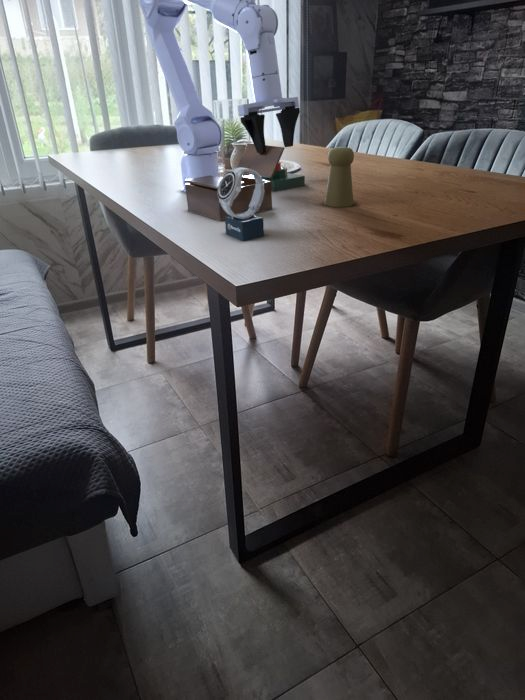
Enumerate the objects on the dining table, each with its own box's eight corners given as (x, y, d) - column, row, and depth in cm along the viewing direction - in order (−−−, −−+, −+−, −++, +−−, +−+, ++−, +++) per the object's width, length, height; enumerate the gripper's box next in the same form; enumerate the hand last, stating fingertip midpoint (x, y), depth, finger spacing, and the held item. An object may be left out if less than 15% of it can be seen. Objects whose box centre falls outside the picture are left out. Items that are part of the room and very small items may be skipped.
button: (263, 170, 120) (263, 162, 119) (274, 168, 122) (274, 160, 121) (272, 171, 118) (272, 164, 117) (283, 169, 120) (283, 162, 119)
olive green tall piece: (352, 207, 98) (356, 149, 93) (323, 206, 100) (324, 149, 94) (354, 200, 104) (357, 145, 98) (325, 200, 105) (327, 145, 99)
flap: (235, 171, 105) (236, 171, 105) (270, 177, 97) (271, 178, 97) (247, 143, 104) (248, 144, 104) (283, 147, 96) (284, 148, 96)
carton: (237, 200, 108) (235, 170, 105) (272, 209, 100) (271, 177, 97) (187, 211, 101) (184, 179, 98) (220, 221, 93) (217, 187, 90)
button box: (243, 185, 123) (242, 168, 121) (273, 179, 128) (273, 163, 126) (274, 191, 115) (273, 173, 113) (304, 185, 120) (304, 168, 118)
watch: (216, 236, 84) (210, 169, 79) (254, 227, 88) (251, 163, 82) (233, 243, 80) (228, 173, 75) (272, 234, 84) (270, 167, 78)
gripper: (248, 75, 89) (260, 153, 95) (305, 69, 97) (313, 142, 102) (227, 82, 95) (239, 156, 100) (282, 76, 102) (291, 145, 108)
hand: (275, 149), depth 102 cm, fingers open, 7 cm apart
